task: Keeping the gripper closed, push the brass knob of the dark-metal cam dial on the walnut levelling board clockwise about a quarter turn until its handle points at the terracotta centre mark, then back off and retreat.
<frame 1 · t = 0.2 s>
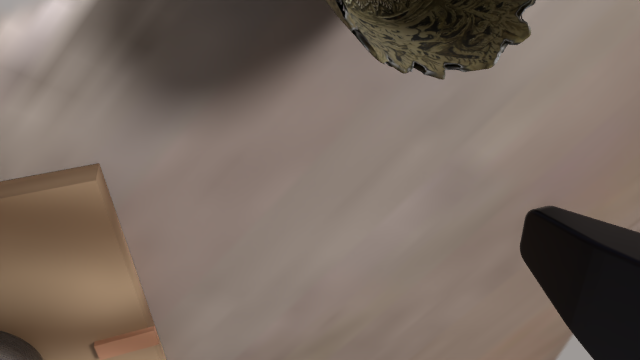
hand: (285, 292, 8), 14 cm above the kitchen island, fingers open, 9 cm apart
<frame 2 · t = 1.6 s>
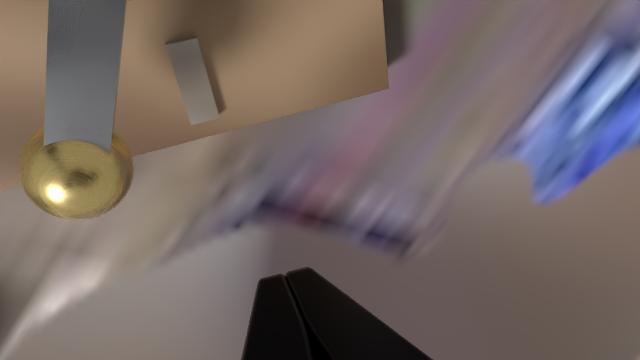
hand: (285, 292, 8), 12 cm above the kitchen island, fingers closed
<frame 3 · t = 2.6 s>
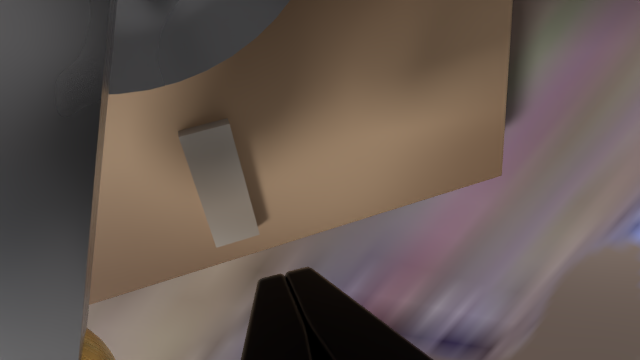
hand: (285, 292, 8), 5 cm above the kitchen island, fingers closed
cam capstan: (46, 69, 6), point 4 cm above the kitchen island, hinge at -25.0°
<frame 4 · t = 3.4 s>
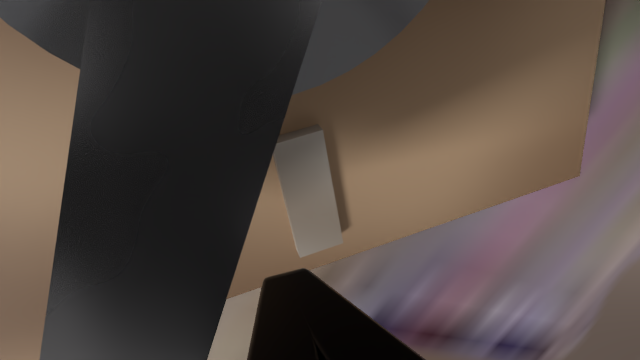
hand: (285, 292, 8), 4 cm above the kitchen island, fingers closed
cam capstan: (167, 75, 5), point 4 cm above the kitchen island, hinge at -29.7°, touching gripper
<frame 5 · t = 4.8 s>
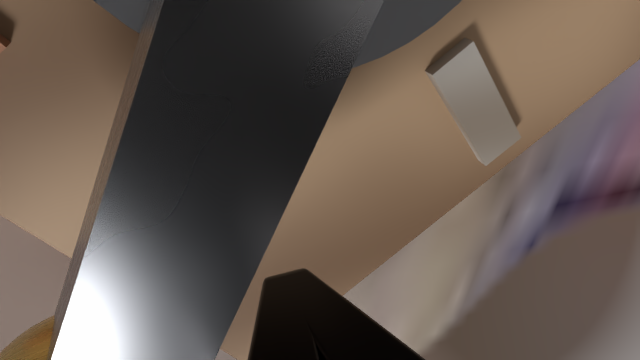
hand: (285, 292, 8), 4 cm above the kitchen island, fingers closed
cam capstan: (210, 38, 5), point 4 cm above the kitchen island, hinge at -62.0°, touching gripper
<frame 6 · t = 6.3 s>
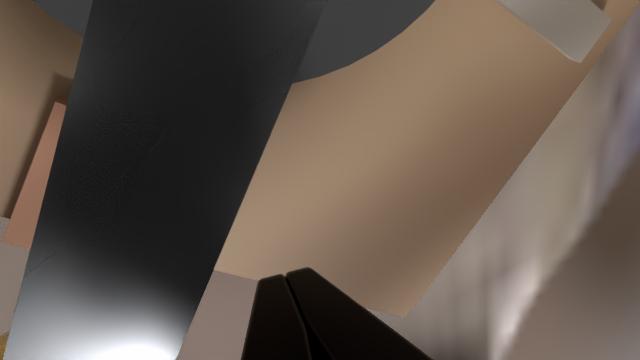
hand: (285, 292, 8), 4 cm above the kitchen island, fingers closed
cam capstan: (168, 49, 5), point 4 cm above the kitchen island, hinge at -84.1°
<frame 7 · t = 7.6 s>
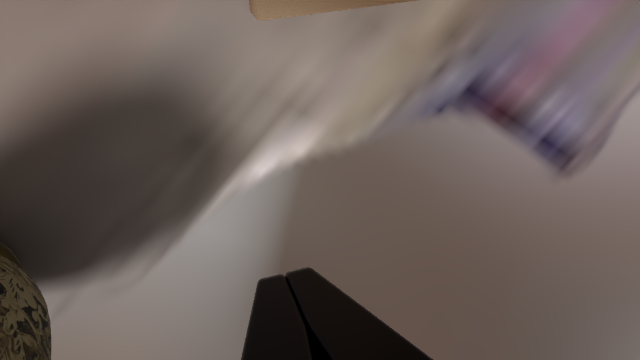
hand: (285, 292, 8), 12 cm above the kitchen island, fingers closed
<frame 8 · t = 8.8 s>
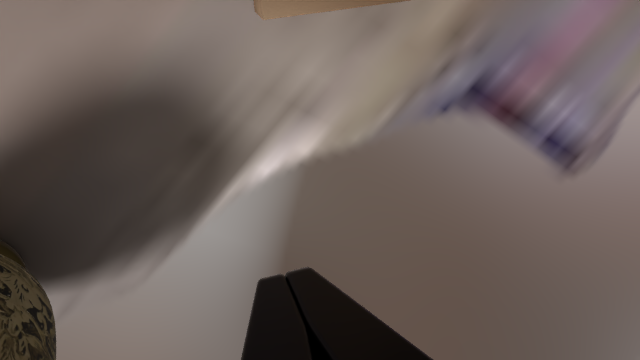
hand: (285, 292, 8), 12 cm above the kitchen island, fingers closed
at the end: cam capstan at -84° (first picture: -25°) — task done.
